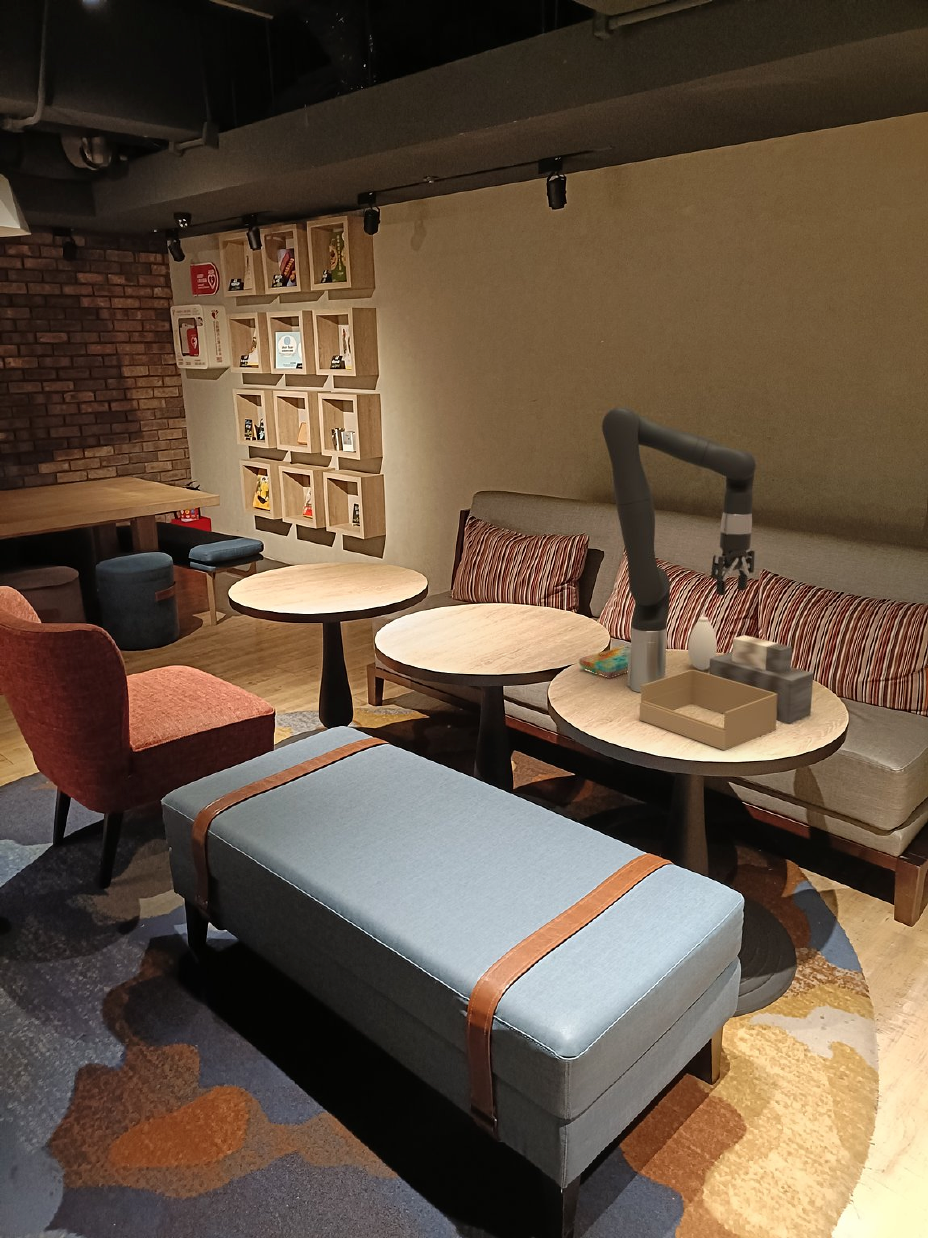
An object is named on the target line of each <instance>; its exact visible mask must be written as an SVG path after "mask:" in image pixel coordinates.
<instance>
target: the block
mask: <svg viewBox="0 0 928 1238" xmlns="http://www.w3.org/2000/svg"><path fill="white" fill-rule="evenodd" d="M731 652H732V661H734V662H737V663H741V664H745V665H748V666H752V667H756V668H760V669H763V670H767V671H771V672H774V673H778V674H781V673H784V672H787V671H789V670H791V667H792V666H791V665H792V655H793V654H792V652H793V646H791V645H786V644H782V643H778V642H774V641H770V640H765V639H761V638H757V637H754V636H749V635H741V636H737V637H734V638H733V639H732V651H731Z"/></svg>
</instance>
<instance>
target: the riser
mask: <svg viewBox="0 0 928 1238" xmlns="http://www.w3.org/2000/svg"><path fill="white" fill-rule="evenodd" d="M732 652H733V651H731V652H730V651H729V652H727V653H722V654H721V655H720V654H719V655H717V656H716V657H714V658H710V667H709V668H708V669H709V673H708V674H711V675H714V676H718V677H721V678H724V679H728V680H731V681H735V682H738V683H742V684H745V685H749V686H752V687H756V688H759V689H763V690H766V691H770V692H773V693H777V694H778V702H777V717H776V722H780V723H784V724H787V725H790V724H793V723H795V722H797V721H800V720H802V719H804V718H807V717H810V716H811V712H812V710H811V709H812V699H813V698H812V696H813V685H814V684H813V683H814V672H811V671H808V670H803V669H799V668H795V667H792V666H791V670H789V671H787V672H784V673H781V674H778V673H774V672H771V671H767V670H763V669H760V668H756V667H752V666H748V665H745V664H741V663H737V662H734V661H732Z"/></svg>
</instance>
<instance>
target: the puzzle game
mask: <svg viewBox="0 0 928 1238" xmlns="http://www.w3.org/2000/svg"><path fill="white" fill-rule="evenodd" d="M629 652H631V646H629V645H623V646H619V647H616V648H615V647H614V648H613V649H609V650H605V651H599V652H597V653H594V654H590V655H586V656H583V657H580V658H579V659H578V663H579V665H580V667H582V669H583V670H584V669H587V670H590V671H592V672H594V673H597V674H602V675H604V676H607V677H609V678H608V679H611V678H610V677H612V676H615V675H618V674H621V675H623V674H622V673H624V674H626V673H625V672H627V671H628V653H629ZM627 673H628V672H627ZM618 676H619V675H618ZM615 677H616V676H615ZM612 678H613V677H612Z"/></svg>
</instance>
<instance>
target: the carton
mask: <svg viewBox="0 0 928 1238" xmlns="http://www.w3.org/2000/svg"><path fill="white" fill-rule="evenodd" d="M777 702H778V694H777V693H773V692H770V691H766V690H763V689H759V688H756V687H752V686H749V685H745V684H742V683H738V682H735V681H731V680H728V679H724V678H721V677H718V676H714V675H711V674H709V673H707V672H703V671H701V670H698V669H689V670H685V671H684V672H680V673H677V674H673V675H670V676H667V677H665V678H663V679H660V680H657V681H654V682H651V683H648V684H644V685H641V693H640V702H639V721H642V722H645V723H648V724H650V725H653V726H656V727H659V728H661V729H664V730H667V731H670V732H673V733H676V734H679V735H681V736H684V737H686V738H689V739H691V740H694V741H698V742H700V743H703V744H706V745H709V746H711V747H714V748H717V749H719V750H723V751H726V750H729V749H732V748H734V747H736V746H740V745H741V744H744V743H746V742H747V743H748V742H749V741H752V740H755V739H756V738H759V737H762V736H764V735H766V734H769V733H771V732H773V731H776V729H777V720H776V717H777ZM689 705H695V706H697V707H701V708H704V709H707V710H711V711H713V712H716V713H718V714H719V713H720V714H723V715H724V717H723V718H724V720H723V721H724V723H723V727H722V726H721V725H720V726H719V725H717V724H714V723H711V722H708V721H705V720H702V719H699V718H696V717H693V716H689V715H687V714H684V713H680V712H678V711H675V710H677V709H680V708H683V707H685V706H689Z"/></svg>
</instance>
